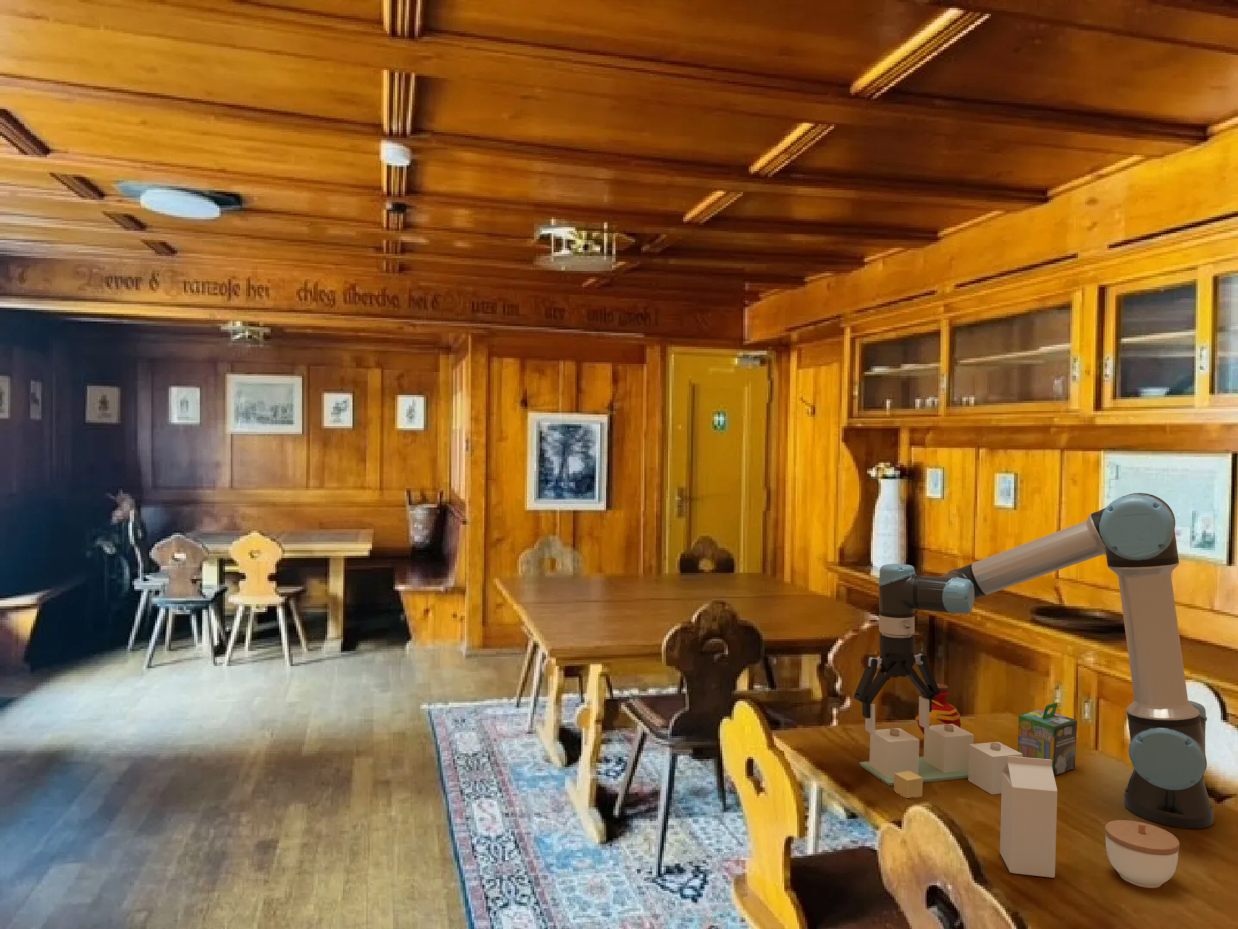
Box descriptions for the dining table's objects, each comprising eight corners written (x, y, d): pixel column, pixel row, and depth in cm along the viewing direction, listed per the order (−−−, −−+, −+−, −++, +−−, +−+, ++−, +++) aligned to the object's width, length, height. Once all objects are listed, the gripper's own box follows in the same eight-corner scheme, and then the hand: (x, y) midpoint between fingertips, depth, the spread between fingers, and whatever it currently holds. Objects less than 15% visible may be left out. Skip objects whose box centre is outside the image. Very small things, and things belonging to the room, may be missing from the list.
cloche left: (898, 763, 191) (899, 723, 191) (918, 775, 184) (919, 735, 183) (869, 765, 189) (870, 726, 189) (888, 778, 182) (889, 737, 181)
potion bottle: (906, 742, 206) (908, 681, 206) (941, 738, 210) (943, 678, 209) (934, 757, 196) (936, 693, 196) (970, 753, 200) (972, 690, 199)
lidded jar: (1149, 863, 147) (1151, 810, 147) (1193, 896, 137) (1195, 839, 136) (1090, 863, 147) (1091, 810, 147) (1129, 896, 136) (1131, 839, 136)
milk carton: (1055, 879, 141) (1058, 767, 141) (1009, 874, 143) (1012, 763, 142) (1042, 858, 148) (1045, 752, 148) (999, 854, 150) (1002, 749, 149)
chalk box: (1038, 756, 198) (1040, 694, 198) (1077, 769, 190) (1078, 705, 190) (1015, 763, 193) (1017, 700, 193) (1053, 777, 185) (1055, 711, 185)
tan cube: (922, 797, 174) (922, 778, 174) (907, 799, 173) (907, 780, 172) (908, 789, 178) (909, 770, 178) (893, 792, 176) (894, 773, 176)
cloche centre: (951, 758, 194) (952, 719, 194) (973, 770, 187) (974, 730, 187) (923, 760, 193) (924, 721, 192) (943, 773, 185) (944, 732, 185)
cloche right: (1021, 791, 177) (1022, 749, 177) (991, 794, 176) (992, 752, 175) (997, 777, 185) (998, 737, 184) (968, 780, 183) (969, 739, 183)
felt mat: (984, 776, 185) (984, 773, 185) (889, 785, 179) (889, 783, 179) (950, 756, 197) (950, 754, 197) (859, 765, 191) (859, 762, 191)
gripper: (855, 641, 179) (856, 740, 179) (956, 634, 185) (956, 729, 185) (837, 634, 186) (838, 729, 186) (935, 627, 192) (935, 719, 193)
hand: (897, 729), depth 186 cm, fingers open, 13 cm apart
